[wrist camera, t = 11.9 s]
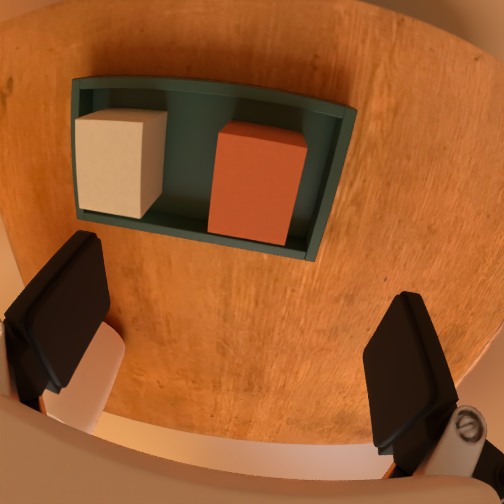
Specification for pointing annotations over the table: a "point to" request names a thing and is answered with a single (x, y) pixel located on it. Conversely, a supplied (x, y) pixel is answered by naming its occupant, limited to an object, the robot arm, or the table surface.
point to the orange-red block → (256, 181)
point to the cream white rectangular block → (120, 160)
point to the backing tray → (204, 151)
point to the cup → (88, 383)
